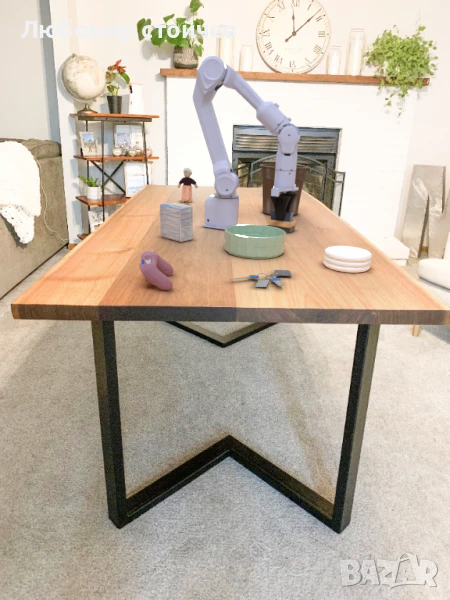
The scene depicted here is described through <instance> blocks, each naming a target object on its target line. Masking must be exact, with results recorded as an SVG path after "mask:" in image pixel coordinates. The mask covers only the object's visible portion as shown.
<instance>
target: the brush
mask: <svg viewBox="0 0 450 600" xmlns="http://www.w3.org/2000/svg"><path fill="white" fill-rule="evenodd" d="M266 226H272V227H277V228H280V229H282V230H284V231H285V232H286V234H291V233H292V232H294V231H295V230H296V219H294V216H293V212H291V211H286V213H285V217H284V220H283V221H282V220H276V216H275V210H272V211H271V215H270V218H268V219H267V220H266Z"/></svg>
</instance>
